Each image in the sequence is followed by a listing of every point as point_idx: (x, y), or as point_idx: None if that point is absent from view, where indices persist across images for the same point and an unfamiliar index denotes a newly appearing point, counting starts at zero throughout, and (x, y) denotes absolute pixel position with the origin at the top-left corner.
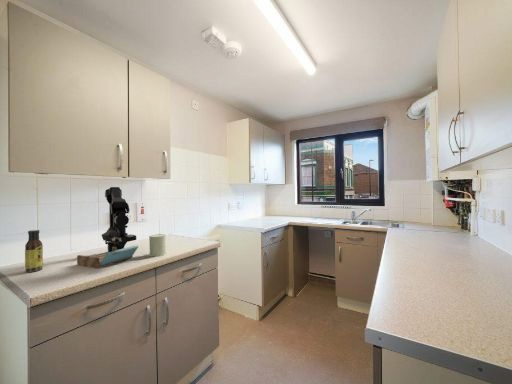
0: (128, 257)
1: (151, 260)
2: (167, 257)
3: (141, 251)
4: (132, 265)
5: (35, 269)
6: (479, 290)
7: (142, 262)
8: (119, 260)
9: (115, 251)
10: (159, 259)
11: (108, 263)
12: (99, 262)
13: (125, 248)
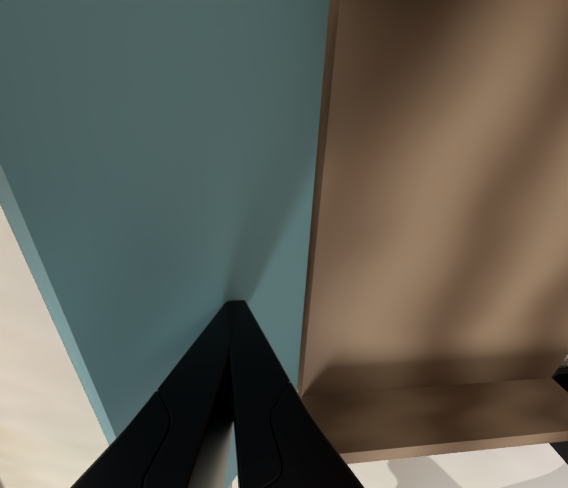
0: (299, 357)
1: (34, 387)
2: (9, 463)
3: (367, 463)
4: (8, 231)
5: None
6: None
7: (39, 329)
8: (306, 278)
9: (3, 186)
10: (3, 421)
11: (317, 149)
12: (404, 47)
13: (109, 434)
